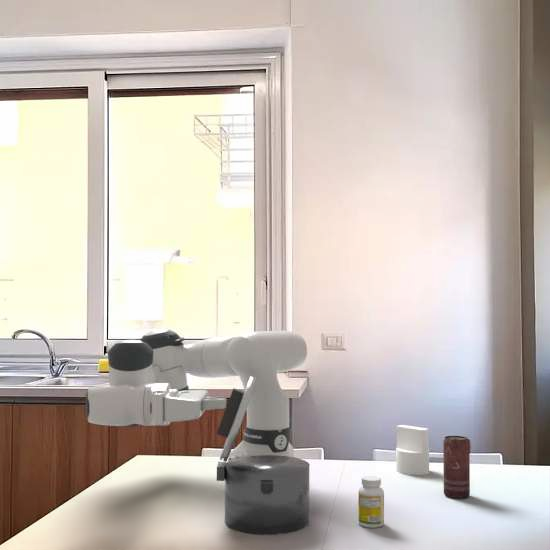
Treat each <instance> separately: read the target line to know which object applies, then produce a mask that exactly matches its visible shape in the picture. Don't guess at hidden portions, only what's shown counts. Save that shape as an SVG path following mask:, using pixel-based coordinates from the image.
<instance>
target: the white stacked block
mask: <svg viewBox="0 0 550 550" xmlns="http://www.w3.org/2000/svg"><path fill="white" fill-rule="evenodd" d="M429 437H430V436H429V428H425V427H421V426H420V427H419V426H414V425H412V426H411V425H405V424H400V425H397V426H396V448H395V461H396V462H395V470H396V471H395V472H397V473H398V472H399V473H398V474H401V473H402V475H406V474H408V475H407V476H422V475H428V474H429V473H430V450H429V446H430V444H429ZM427 473H428V474H427Z"/></svg>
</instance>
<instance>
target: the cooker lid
mask: <svg viewBox="0 0 550 550" xmlns="http://www.w3.org/2000/svg"><path fill="white" fill-rule="evenodd" d="M256 380H257V378H254V377H252V376H250V378H249V381H248V383H247V386H246V389H245V390H244V391H242V390H239V389H236V388H233V389H232V391H231V394H230V396H229V399H228V401H227V406H226V407H225V410H224V412H223V415H222V418H221V421H220V424H219V427H218V428H217V431H216V435H218V436H220V437H223V438H225V439H226V440H225V442H224V446H223V449H222V452H221V454H220V457H219V460H221V461H222V462H228V459H229V455H230V453H231V451H232V449H233V446H234V444H235V440H236V439H237V436H238V433H239V431H240V428H241V426H242V422H243V419H244V417H245V415H246V414H245V413H247V406H248V404H249V401H250V398H251V395H252V392H253V389H254V387H255V384H256Z"/></svg>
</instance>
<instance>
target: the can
mask: <svg viewBox="0 0 550 550" xmlns="http://www.w3.org/2000/svg"><path fill="white" fill-rule="evenodd" d="M442 443H443V445H442V446H443V448H442V450H443V453H442V454H443V455H442V457H443V458H442V459H443V460H442V461H443V494H444V496H445V497H447V498H449V499H454V500H465V499H468V498H469V496H470V495H471V486H470V485H471V483H470V481H471V478H470V477H471V475H470V474H471V473H470V470H471V469H470V463H471V461H470V457H471V456H470V455H471V447H472V446H471V439H470V438H468V437H466V436H464V435H463V436H462V435H447V436H445V437H444V439H443V441H442Z"/></svg>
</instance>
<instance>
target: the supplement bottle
mask: <svg viewBox="0 0 550 550" xmlns="http://www.w3.org/2000/svg"><path fill="white" fill-rule="evenodd" d="M361 485H362V486H361V487H359V489H358V498H357V499H358V501H357V502H358V511H357V512H358V524H359V525H360V526H361V527H363V528H368V529H376V528H381V527H383V526H384V523H385V491H384V490H383V489H384V488H382V487H381V486H382V478H381V477H379V476H376V475H375V476H373V475H366V476H362V477H361Z"/></svg>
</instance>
